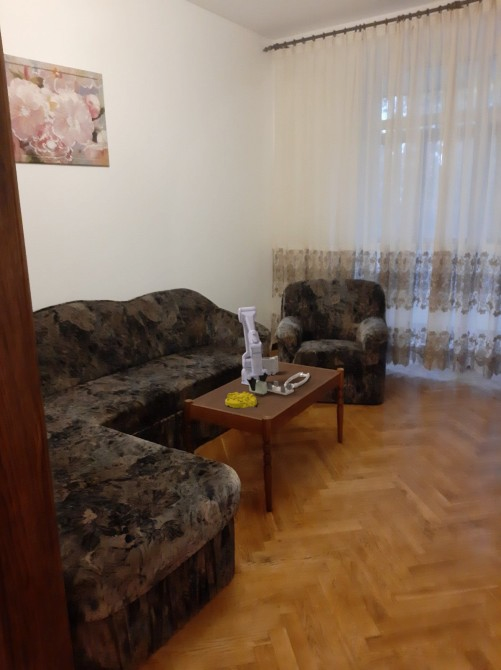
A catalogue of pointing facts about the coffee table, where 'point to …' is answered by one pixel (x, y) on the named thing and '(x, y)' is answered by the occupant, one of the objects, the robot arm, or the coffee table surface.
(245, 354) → the robot arm
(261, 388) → the long rectangular block
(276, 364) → the hinge
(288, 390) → the plate with corner feet
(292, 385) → the door handle
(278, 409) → the coffee table surface
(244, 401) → the yellow textured disc
